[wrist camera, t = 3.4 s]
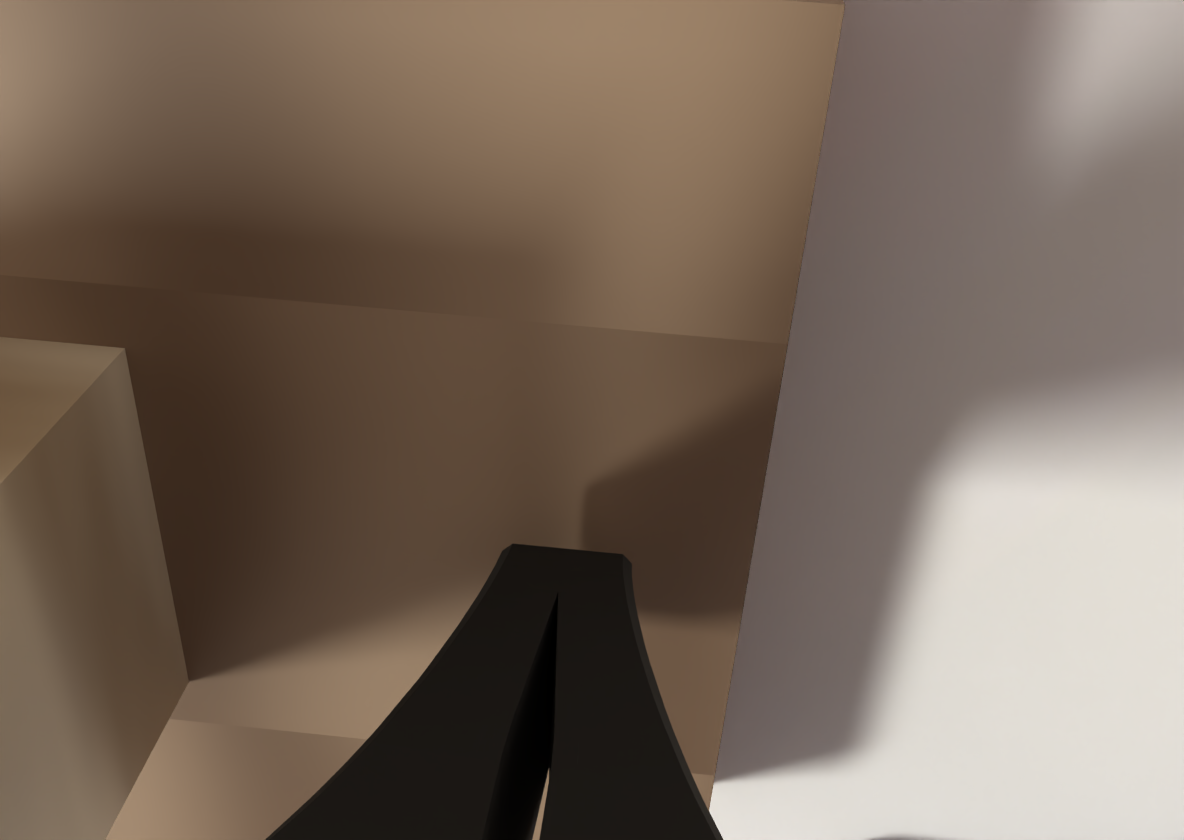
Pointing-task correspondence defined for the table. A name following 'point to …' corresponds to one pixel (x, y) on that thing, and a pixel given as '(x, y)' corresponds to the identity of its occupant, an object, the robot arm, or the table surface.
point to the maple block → (77, 593)
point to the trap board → (415, 329)
